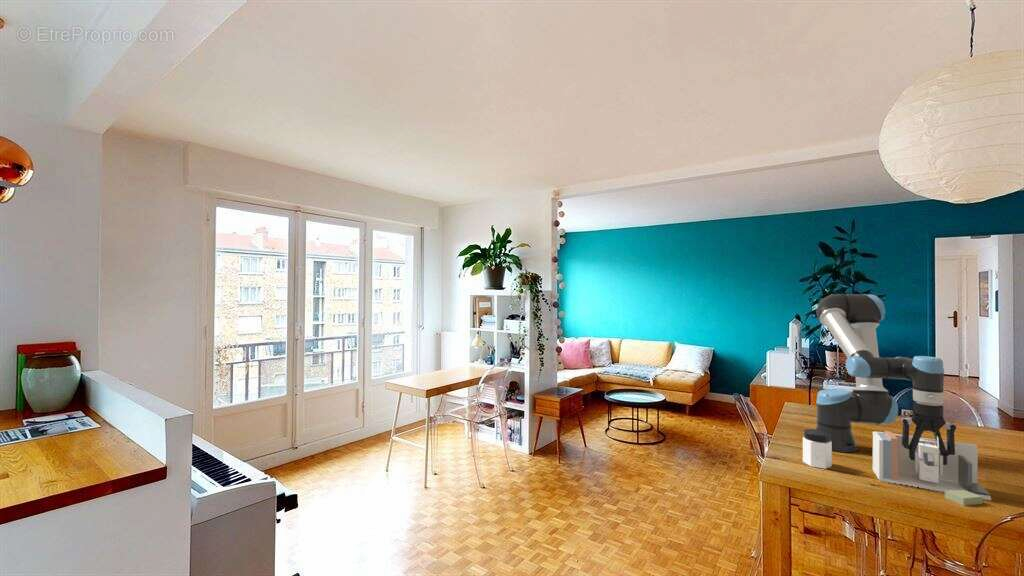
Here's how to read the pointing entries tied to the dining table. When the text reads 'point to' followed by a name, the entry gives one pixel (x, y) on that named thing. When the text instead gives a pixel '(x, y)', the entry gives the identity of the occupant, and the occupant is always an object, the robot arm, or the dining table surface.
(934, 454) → the ink box
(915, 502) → the dining table surface
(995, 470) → the dining table surface
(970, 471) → the bookend
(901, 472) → the shelf
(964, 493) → the fallen book
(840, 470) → the dining table surface
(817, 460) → the jar
